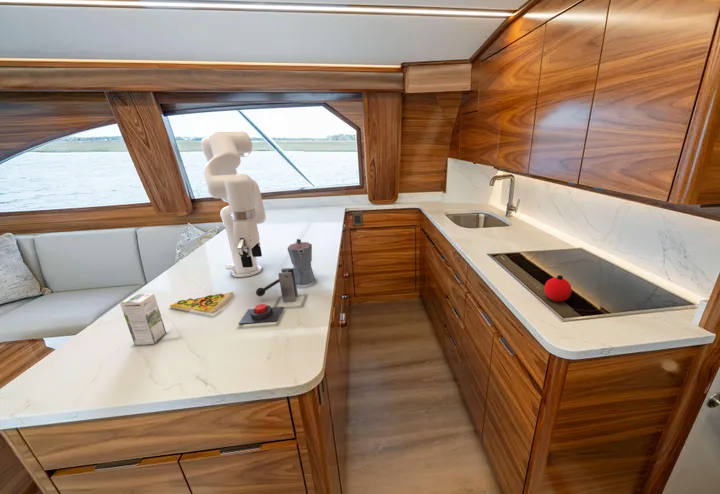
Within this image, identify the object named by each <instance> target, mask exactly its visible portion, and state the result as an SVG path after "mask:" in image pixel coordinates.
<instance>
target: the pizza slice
mask: <svg viewBox="0 0 720 494" xmlns="http://www.w3.org/2000/svg"><path fill="white" fill-rule="evenodd" d="M233 296H234V291H229V292H226V293H218V294H217V293H216V294H209V295H206V296H202V297H197V298H194V299H193V298H188V299H186V300H185V299H180V300H178V301H177V302H175V303H172V304H169V307H170V308H171V309H173V310H174V309H175V310H178V311H179V310H180V311H184V312H191V310H192V311H196V312H197V311H198V312H203V313H208V314H210V315H211V314H216V313H217V312H218V311H219V310H221V309H223V308H224V307H225V306H226V305H228V303H229V302H230V301H231V299H233Z"/></svg>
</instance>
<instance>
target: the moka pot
mask: <svg viewBox="0 0 720 494" xmlns="http://www.w3.org/2000/svg"><path fill="white" fill-rule="evenodd" d="M287 252H288V255H289V259H290V261H291V265H293V268H294V272H295V279H296V285H298V286H306V285H309V284H312V283H314V281H316V278H315V277H316V276H315V273H314V270H313V267H312V259H313V244H312V243H310V242H307V241H302V240H301V239H299V238H297V239H296V241H295V243H291V244H289V245H288V246H287Z"/></svg>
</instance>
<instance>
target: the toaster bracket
mask: <svg viewBox="0 0 720 494" xmlns="http://www.w3.org/2000/svg"><path fill="white" fill-rule="evenodd" d="M287 270H289V271H290V272H286V271H287ZM280 271H281V272H279V273H278V279H279V281H280V282H279V285H280V286H279V287H280V292H281V299H282V303H296V300H297V298H296V297H298V296H299V293H298V286H297V284H296V279H295V272H294V267H285V268H284V267H283V268H281V270H280ZM284 272H285V273H284ZM292 274H293V275H292Z"/></svg>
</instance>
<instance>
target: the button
mask: <svg viewBox="0 0 720 494" xmlns="http://www.w3.org/2000/svg"><path fill="white" fill-rule="evenodd" d="M266 305H267V304H265V303H259V304H257V305H255V306H254V308H255V313H257V314H258V313H264V312H266V311H267V307H266Z"/></svg>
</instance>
